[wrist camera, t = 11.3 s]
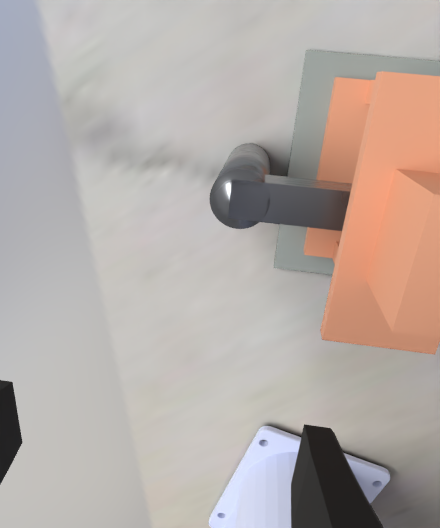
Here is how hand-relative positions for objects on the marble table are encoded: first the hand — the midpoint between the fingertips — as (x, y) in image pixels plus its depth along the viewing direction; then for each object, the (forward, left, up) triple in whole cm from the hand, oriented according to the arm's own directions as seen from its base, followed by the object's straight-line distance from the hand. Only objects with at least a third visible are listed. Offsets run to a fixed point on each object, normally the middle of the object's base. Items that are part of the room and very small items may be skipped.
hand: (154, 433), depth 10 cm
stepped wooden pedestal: (+6, -4, -10) cm, 13 cm away
